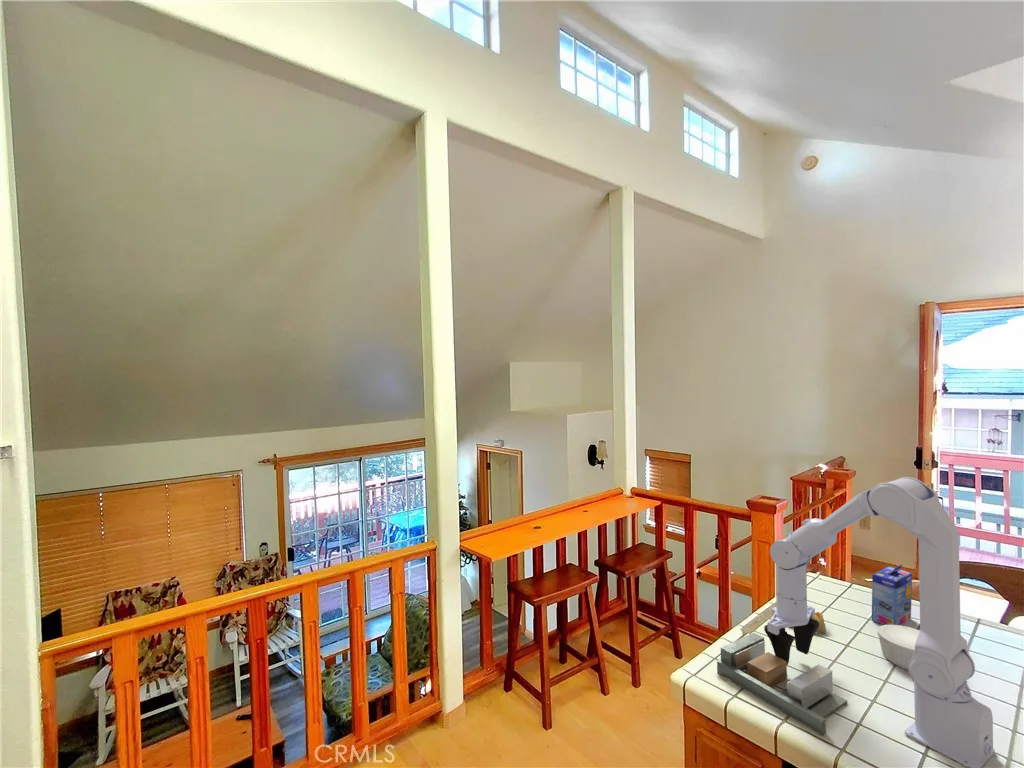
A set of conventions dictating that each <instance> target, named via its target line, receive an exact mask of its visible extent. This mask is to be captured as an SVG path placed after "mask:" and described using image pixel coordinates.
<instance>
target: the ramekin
mask: <svg viewBox="0 0 1024 768" xmlns="http://www.w3.org/2000/svg"><path fill="white" fill-rule="evenodd" d="M876 632H877V633H876V634H877V636H878V639H879V643H880V648H881V649H880V650H881V652H882V655H884V656H885V659H887V660H888V661H889V662H890V663H892V664H894V665H896V666H897V667H900V668H902V669H903V670H904V669H905V670H907V671H909V670H908V664H909V661H910V659H911V658H912V657H913V655H914V653H915V643H916V640H917V637H918V635H919V632H920V629H916V628H913V627H910V626H905V625H902V626H900V625H880V626H879V627H878V628H877V630H876Z"/></svg>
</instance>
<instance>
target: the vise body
mask: <svg viewBox="0 0 1024 768" xmlns="http://www.w3.org/2000/svg"><path fill="white" fill-rule="evenodd" d="M765 646H766V642H765V637H764V636H761V635H760V634H757V633H755V632H752V633H750V634H747V635H745V636H743V637H741V638H739V639H736V640H734V641H732V642H730V643H727V644H725V645H722V646H721V647H720V659H718V660H716V666H717V667H716V671H717V674H719V675H720V676H722V677H723V678H725V677H726V678H725V679H727V680H729V681H730V680H731V681H730V682H732V683H734V684H735V683H736V684H735V685H737V686H739V687H740V688H741V689H744V690H745V691H747V692H749V693H750V694H752V695H754V696H756V698H758V699H760V700H762V701H764V702H766V703H767V704H769V705H770V706H771V707H773V708H775V709H777V710H778V711H780V712H781V713H784V714H785V715H787V716H788V717H790V718H791V719H793V720H795V721H797V722H799V723H800V724H802V725H804V726H805V727H806V728H808V729H811V730H812V731H813V732H815V733H817V734H818V735H820V736H825V735H827V718H828V717H830V716H832V715H833V714H834V713H836V712H837V711H839V710H840V709H842V708H844V707H845V706H846V705H847V704H848V699H845V698H844V697H841V696H840V695H838V694H836V693H834V692H833V691H832V692H831V693H829V694H828V695H826V696H825V697H823V698H822V699H820V700H818V701H817V702H815V703H814V704H812V705H811V706H809V707H807V708H806V707H804V706H802V705H800V704H799V703H797V702H795V701H793V700H792V699H790V698H788V697H787V687H786V688H785V689H782V690H781V691H777V690H776V689H774V688H770V687H769V686H767V685H765V684H763V683H762V682H760V681H758V680H756V679H755V678H753V677H751V676H749V675H748V673H745V671H747V670H748V662H749V661H751V660H753V659H755V658H757V657H759V656H761V655H763V654H765V653H766V647H765ZM744 670H745V671H744Z"/></svg>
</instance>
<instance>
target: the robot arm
mask: <svg viewBox="0 0 1024 768" xmlns="http://www.w3.org/2000/svg"><path fill="white" fill-rule="evenodd" d="M878 516H881V517H883V518H885V519H886V520H889V521H891V522H892V523H894V524H896V525H898V526H900V527H903V528H904V529H906V531H908V532H909V533H910V534H912V535H913V536H914V537H916V538H917V540H918V578H919V579H918V580H919V581H918V582H919V628H920V629H919V630H920V632H919V635H918V637H917V640H916V643H915V653H914V655H913V657H912V658H911V659H910V661H909V664H908V670H907V671H908V672H909V676H910V677H911V678H912V681H914V683H913V684H914V685H913V686H914V687H913V689H914V692H913V693H914V696H913V697H914V721H913V723H911V724H910V726H908V727H907V728H906V729H905V730H904V734H905V735H906V736H908V737H909V738H912V739H914V740H915V741H918V742H919V743H921V744H924V745H925V746H926V747H929V748H931V749H932V750H934V751H936V752H938V753H940V754H942V755H944V756H946V757H948V758H950V759H952V760H954V761H955V762H958V764H959V763H960V764H961V765H963V766H965V767H967V768H982V767H983V766H984V765H985V764H986V762H988V760H989V759H990V758H991V757H992V756H993V755H994V754H995V753H996V750H995V748H994V723H993V722H994V721H993V720H994V719H993V713H992V709H991V708H990V707H988V706H987V705H985V704H984V703H982V702H980V701H978V700H977V699H976V698H974V696H972V693H971V690H970V687H969V685H968V681H967V680H969V679H971V678H972V677H973V676H974V675H975V674H976V673H975V671H976V666H975V662H974V660H973V658H972V656H971V655H970V652H969V650H968V642H967V640H966V638H964V636H962V635H961V632H962V631H961V588H960V587H961V586H960V585H961V583H960V582H961V579H960V575H961V574H960V537H959V536H960V533H959V530H958V527H957V526H956V524H955V523H954V521H953V520H952V518H951V517H950V515H949V514H948V512H947V511H946V509H945V508H944V506H943V504H942V503H941V502H940V499H939V496H938V492H937V491H935V490H934V489H933V488H932V487H930V486H929V485H927V484H926V483H924V482H923V481H921V480H920V479H917V478H914V477H912V476H911V477H909V476H902V477H899V478H897V479H895V480H890V481H888V482H881V483H878V484H876V485H874V486H873V487H872V488H870V489H869V488H868V489H866V490H865V491H862V492H860V493H858V494H856V495H855V496H854V497H853V498H851V499H850V500H848V501H847V502H845V504H843V505H842V506H840V507H839V508H838V509H836V510H835V511H833V512H832V513H831V514H830V515H827V517H825V518H824V519H821V518H816V517H815V518H811V519H810V518H806V519H804V520H802V521H801V524H802V525H801V526H800V527H799V528H797V529H796V530H794V531H789V532H787V533H785V536H786V538H783V539H779V540H775V541H774V542H773V544H771V546H770V548H769V549H770V550H769V555H770V557H771V560H772V561H773V563H775V586H776V587H775V592H776V593H775V595H776V601H775V602H776V606H775V607H772V608H771V612H772V613H774V614H773V615H772V618H771V619H769V621H767V624H766V625H764V627H763V628H764V629H763V630H764V632H765V634H766V635H767V637H768V638H769V641H770V643H771V644H770V645H772V649H773V652H774V655H775V656H777V657H779V658H781V659H783V660H785V661H787V666H788V665H789V662H790V655H791V647H792V644H793V642H794V641H795V642H794V644H795V649H796V651H798V652H800V653H803V654H804V655H808V654H809V651H810V648H811V644H812V640H813V637H814V636H815V634H816V632H815V631H816V630H817V628H818V627H819V622H818V621H816V620H814V619H812V618H813V617H815V613H816V609H815V607H812V606H810V605H808V587H807V586H808V585H807V584H808V582H807V579H808V578H807V577H808V576H807V571H808V570H807V566H808V563H810V562H811V560H812V558H814V557H815V556H817V555H819V554H821V553H822V552H824V551H825V550H826V549H828V548H830V547H831V546H833V545H835V544H836V543H837V542H838V541H837V540H838V538H837V537H838V534H839V532H841V531H843V530H845V529H847V528H848V527H849V526H851V525H853V524H855V523H856V522H858V521H860V520H862V519H864V518H865V517H878ZM791 627H792V629H793V634H794V636H793V635H792V634H789V633H788V631H787V630H786V628H791Z"/></svg>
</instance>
